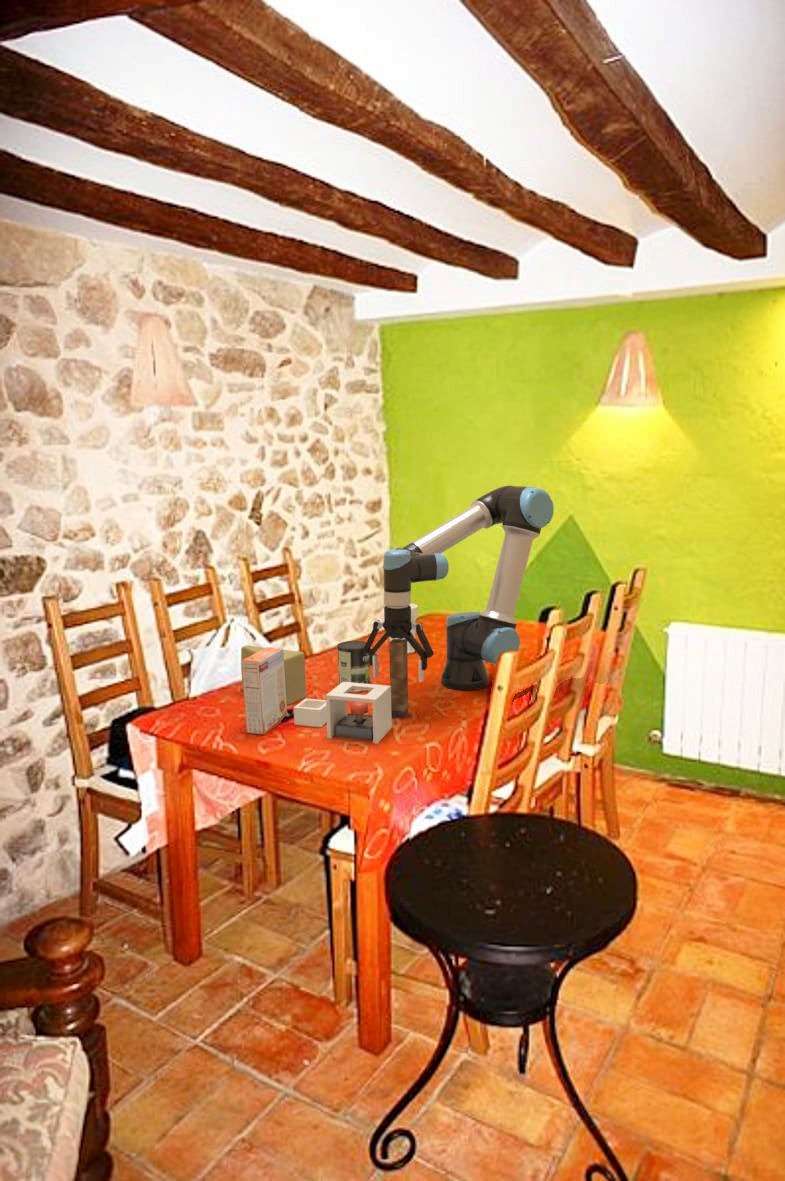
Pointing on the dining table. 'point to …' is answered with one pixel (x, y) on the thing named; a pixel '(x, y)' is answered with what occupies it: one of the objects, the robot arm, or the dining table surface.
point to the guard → (376, 696)
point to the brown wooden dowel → (398, 677)
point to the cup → (413, 620)
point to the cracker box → (264, 690)
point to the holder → (310, 713)
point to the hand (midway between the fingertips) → (398, 678)
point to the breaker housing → (355, 727)
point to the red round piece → (359, 710)
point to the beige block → (286, 672)
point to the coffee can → (353, 663)
